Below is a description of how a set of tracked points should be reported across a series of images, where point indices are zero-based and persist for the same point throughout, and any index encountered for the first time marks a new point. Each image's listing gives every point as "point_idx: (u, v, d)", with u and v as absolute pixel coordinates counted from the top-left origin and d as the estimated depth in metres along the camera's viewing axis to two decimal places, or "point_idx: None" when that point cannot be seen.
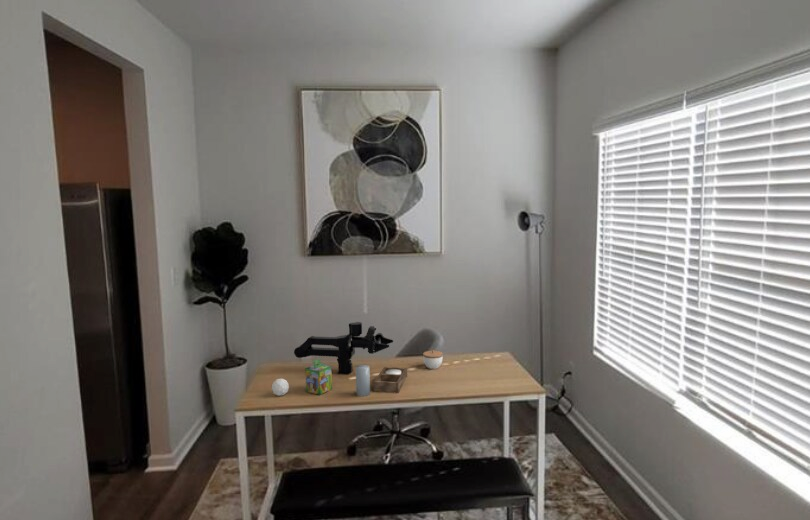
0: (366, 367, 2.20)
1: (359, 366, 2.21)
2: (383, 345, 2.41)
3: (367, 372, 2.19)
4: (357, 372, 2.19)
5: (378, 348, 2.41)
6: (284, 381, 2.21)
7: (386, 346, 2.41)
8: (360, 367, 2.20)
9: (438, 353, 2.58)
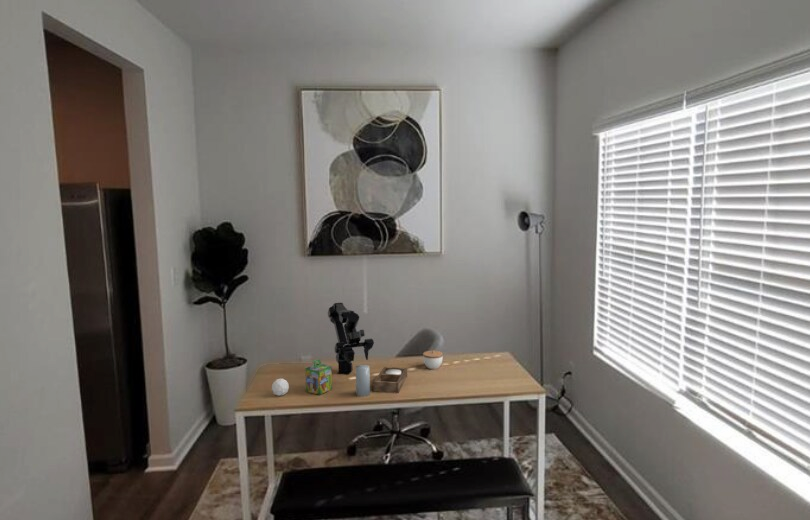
0: (366, 367, 2.20)
1: (359, 366, 2.21)
2: (345, 357, 2.27)
3: (367, 372, 2.19)
4: (357, 372, 2.19)
5: (343, 354, 2.30)
6: (284, 381, 2.21)
7: (347, 360, 2.27)
8: (360, 367, 2.20)
9: (438, 353, 2.58)
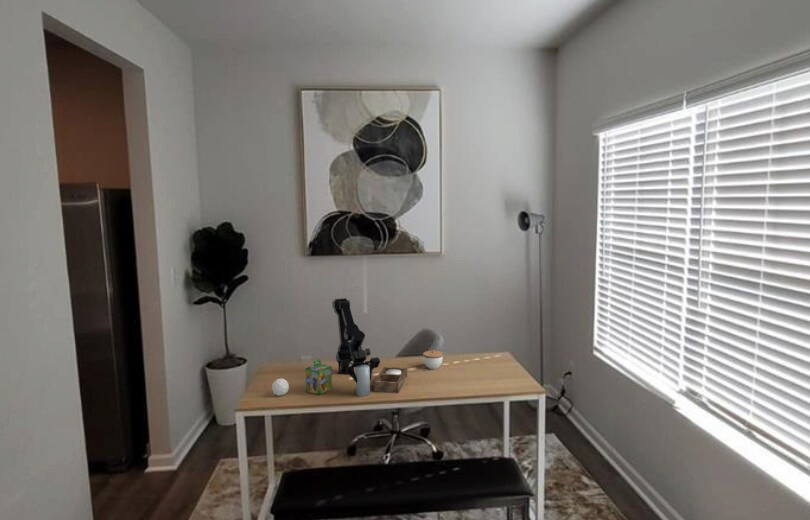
0: (366, 367, 2.20)
1: (359, 366, 2.21)
2: (353, 376, 2.20)
3: (367, 372, 2.19)
4: (357, 372, 2.19)
5: (350, 373, 2.22)
6: (284, 381, 2.21)
7: (354, 380, 2.19)
8: (360, 367, 2.20)
9: (438, 353, 2.58)
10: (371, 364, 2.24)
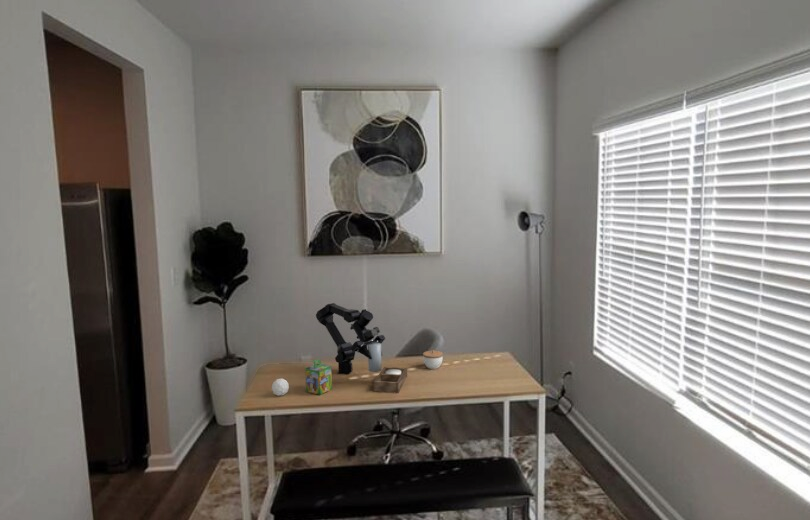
0: (378, 344, 2.34)
1: (371, 344, 2.34)
2: (367, 354, 2.32)
3: (380, 348, 2.33)
4: (372, 349, 2.31)
5: (363, 351, 2.33)
6: (284, 381, 2.21)
7: (369, 357, 2.32)
8: (373, 345, 2.33)
9: (438, 353, 2.58)
10: (379, 341, 2.38)
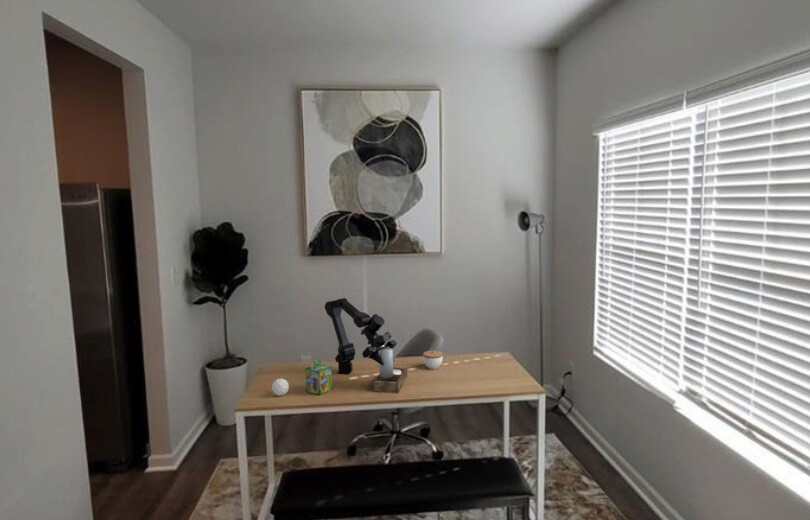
0: (390, 349, 2.29)
1: (382, 349, 2.29)
2: (379, 360, 2.26)
3: (392, 354, 2.28)
4: (383, 355, 2.26)
5: (374, 357, 2.28)
6: (284, 381, 2.21)
7: (381, 363, 2.26)
8: (385, 350, 2.27)
9: (438, 353, 2.58)
10: (391, 346, 2.33)
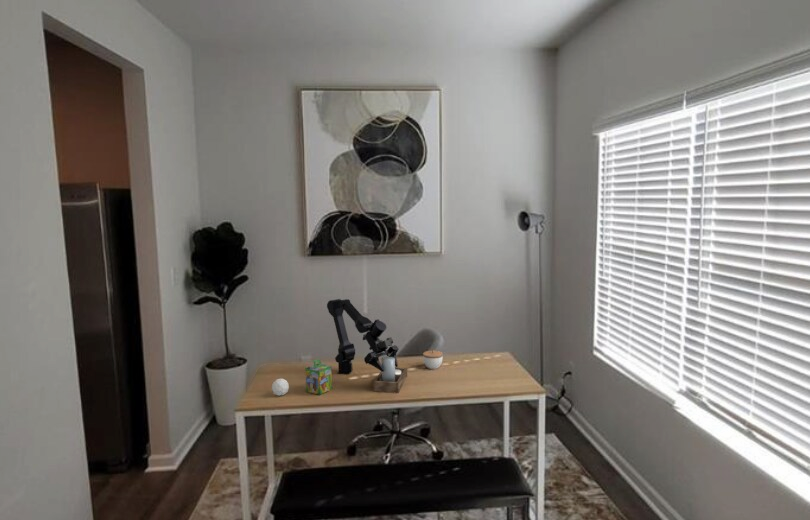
0: (392, 358, 2.28)
1: (384, 358, 2.28)
2: (379, 366, 2.25)
3: (394, 363, 2.27)
4: (385, 364, 2.25)
5: (374, 363, 2.26)
6: (284, 381, 2.21)
7: (381, 369, 2.25)
8: (387, 359, 2.27)
9: (438, 353, 2.58)
10: (395, 351, 2.33)
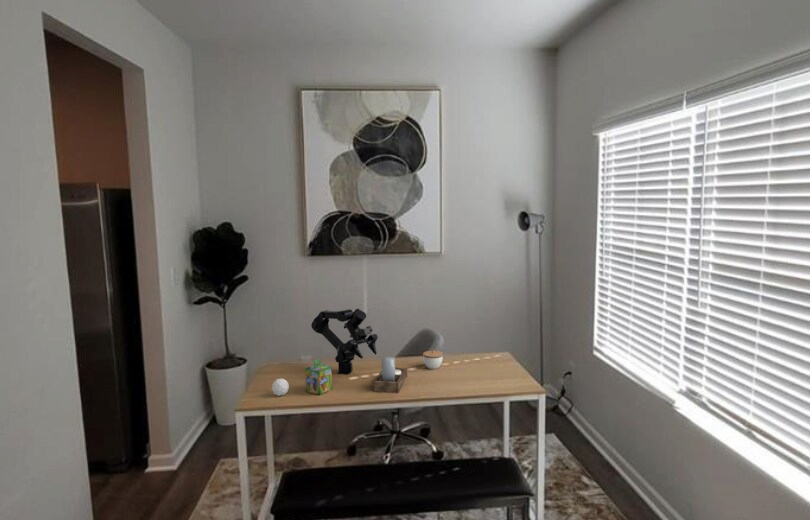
0: (392, 358, 2.28)
1: (384, 358, 2.28)
2: (358, 353, 2.35)
3: (394, 363, 2.27)
4: (385, 364, 2.25)
5: (354, 351, 2.36)
6: (284, 381, 2.21)
7: (360, 356, 2.35)
8: (387, 359, 2.27)
9: (438, 353, 2.58)
10: (374, 340, 2.43)
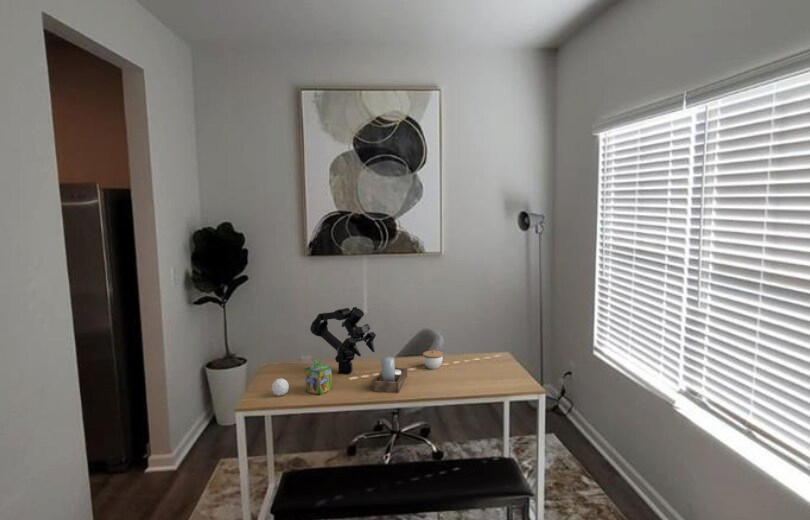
0: (392, 358, 2.28)
1: (384, 358, 2.28)
2: (356, 351, 2.36)
3: (394, 363, 2.27)
4: (385, 364, 2.25)
5: (352, 349, 2.37)
6: (284, 381, 2.21)
7: (358, 354, 2.36)
8: (386, 359, 2.27)
9: (438, 353, 2.58)
10: (372, 337, 2.44)
